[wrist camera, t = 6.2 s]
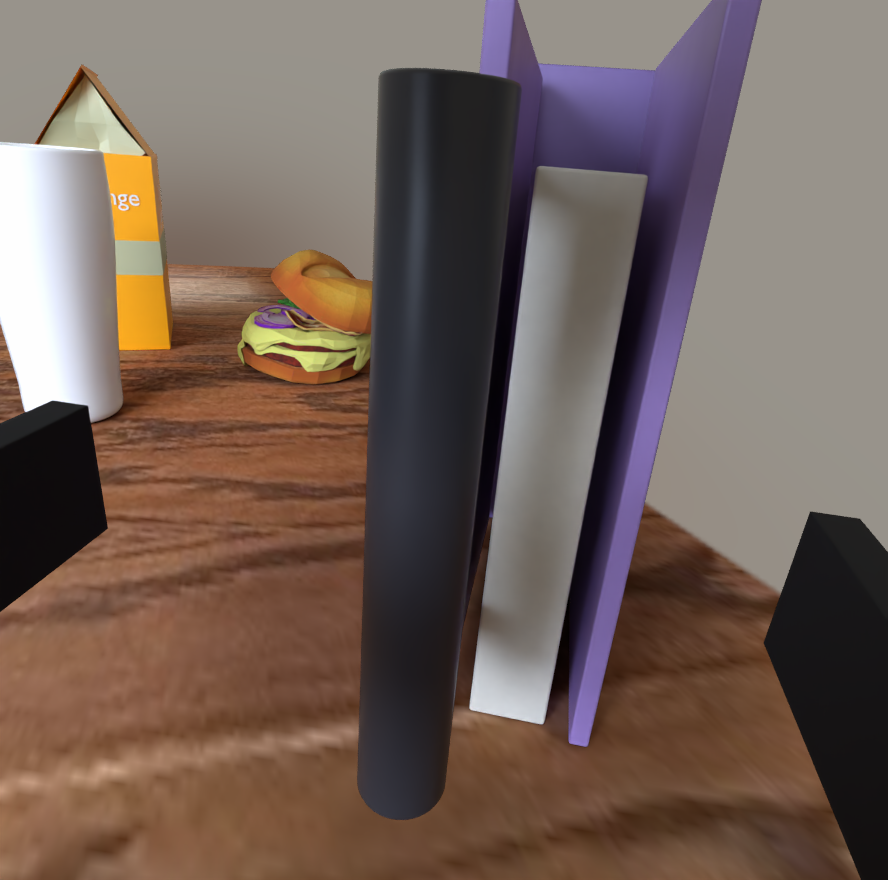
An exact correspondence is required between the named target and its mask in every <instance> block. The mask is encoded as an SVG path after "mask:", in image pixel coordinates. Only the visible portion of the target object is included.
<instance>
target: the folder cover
mask: <svg viewBox="0 0 888 880" xmlns="http://www.w3.org/2000/svg"><path fill="white" fill-rule="evenodd" d="M542 80H543V78H542V74H541V71H540V68H539V65H538V62H537V59H536V56H535V53H534V50H533V46H532V43H531V40H530V37H529V34H528V31H527V28H526V25H525V22H524V19H523V15H522V12H521V9H520V6H519V3H518V0H486V5H485V17H484V28H483V40H482V51H481V63H480V73H474V72H466V71H457V70H445V69H429V68H398V69H389V70H386V71H383V72H381V73H380V76H379V84H378V117H377V118H378V120H377V150H376V182H375V215H374V217H375V218H374V250H373V251H374V252H373V281H372V314H371V347H370V380H369V412H368V445H367V478H366V511H365V544H364V577H363V609H362V642H361V675H360V708H359V741H358V774H357V784H358V789H359V792H360V795H361V797H362V799H363V800H364V801H365V803H366V804H367V805H368V806H369V807H370V808H371V809H372V810H373V811H374V812H376V813H378V814H379V815H381V816H384V817H386V818H390V819H395V820H408V819H413V818H416V817H419V816H421V815H423V814H425V813H427V812H428V811H430V810H431V809H432V808H433V807H434V806H435V805H436V804H437V802H438V801H439V800H440V798H441V796H442V794H443V792H444V788H445V782H446V772H447V763H448V754H449V745H450V736H451V727H452V718H453V709H454V700H455V691H456V682H457V673H458V664H459V655H460V646H461V637H462V628H463V624H464V620H465V616H466V612H467V607H468V603H469V599H470V595H471V591H472V587H473V583H474V578H475V574H476V570H477V566H478V562H479V558H480V553H481V549H482V545H483V541H484V537H485V533H486V528H487V524H488V520H489V516H490V508H491V500H492V492H493V484H494V475H495V467H496V459H497V451H498V442H499V434H500V426H501V418H502V410H503V401H504V393H505V385H506V377H507V368H508V360H509V352H510V344H511V335H512V327H513V319H514V311H515V303H516V294H517V286H518V278H519V270H520V261H521V253H522V245H523V237H524V228H525V220H526V212H527V204H528V196H529V187H530V179H531V171H532V163H533V154H534V146H535V138H536V130H537V121H538V113H539V105H540V97H541V89H542Z"/></svg>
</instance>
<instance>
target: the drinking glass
mask: <svg viewBox="0 0 888 880" xmlns="http://www.w3.org/2000/svg"><path fill="white" fill-rule="evenodd" d="M0 324H1V327H2V331H3V334H4V337H5V340H6V344H7V347H8V350H9V354H10V357H11V360H12V363H13V367H14V370H15V374H16V377H17V380H18V384H19V389H20V394H21V399H22V404H23V408H24V410H25V412H27V411H30V410H32V409H34V408H36V407H39V406H41V405H43V404H45V403H48V402H50V401H52V400H53V401H60V402H67V403H74V404H80V405H87V406H88V408H89V414H90V421H91V423H93V422H97V421H100V420H103V419H106V418H108V417H110V416H112V415H114V414H115V413H117V412H118V411H119V410H120V408H121V407H122V405H123V390H122V382H121V374H120V356H119V333H118V307H117V278H116V250H115V232H114V220H113V210H112V202H111V195H110V188H109V182H108V176H107V171H106V165H105V160H104V154H103V152H102V151H100V150H95V149H85V148H75V147H63V146H50V145H37V144H23V143H7V142H0Z"/></svg>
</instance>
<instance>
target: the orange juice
mask: <svg viewBox="0 0 888 880" xmlns="http://www.w3.org/2000/svg"><path fill="white" fill-rule="evenodd" d="M97 76H98V75H97V74H95V73H94V72H93V71H91V70H90V69H88V68H87V67H85V66H84V65H81V67H80V68H79V70H78V72H77V73H76V75H75V77H74V78H73V80H72V82H71V84H70V85H69V87H68V89H67V91H66V92H65V94H64V95H63V97H62V99H61V100H60V102H59V104H58V106H57V107H56V109H55V110H54V112H53V114H52V116H51V117H50V119H49V121H48V122H47V124H46V126H45V127H44V129H43V131H42V132H41V134H40V136H39V138H38V140H37V141H36V142H35V144H37V145H50V146H63V147H75V148H85V149H95V150H100V151H102V152H103V154H104V160H105V165H106V171H107V176H108V182H109V188H110V195H111V202H112V210H113V220H114V232H115V250H116V278H117V307H118V333H119V350H154V349H170V347H171V338H172V328H173V317H172V307H171V297H170V287H169V277H168V266H167V252H166V241H165V231H164V226H163V216H162V205H161V201H162V200H161V194H160V193H161V192H160V191H161V190H160V186H159V175H158V165H157V155H156V154H154V152H153V151H152V150H151V148H150V147H149V146H148V144H147V143H146V142H145V140H144V139H143V138H142V136H141V135H140V134H139V132H137V130H136V129H135V127H134V126H133V124H132V123H131V122H130V121H129V119H128V118H127V116H126V115H125V114H124V112H123V111H122V110H121V108H120V107H119V106H118V105H117V103H116V102H115V101H114V99H113V98H112V97H111V95H110V94H109V93H108V91H107V90H106V89H105V87H104V86H103V85H102V83H101V82H100V81H99V79H98V78H97Z"/></svg>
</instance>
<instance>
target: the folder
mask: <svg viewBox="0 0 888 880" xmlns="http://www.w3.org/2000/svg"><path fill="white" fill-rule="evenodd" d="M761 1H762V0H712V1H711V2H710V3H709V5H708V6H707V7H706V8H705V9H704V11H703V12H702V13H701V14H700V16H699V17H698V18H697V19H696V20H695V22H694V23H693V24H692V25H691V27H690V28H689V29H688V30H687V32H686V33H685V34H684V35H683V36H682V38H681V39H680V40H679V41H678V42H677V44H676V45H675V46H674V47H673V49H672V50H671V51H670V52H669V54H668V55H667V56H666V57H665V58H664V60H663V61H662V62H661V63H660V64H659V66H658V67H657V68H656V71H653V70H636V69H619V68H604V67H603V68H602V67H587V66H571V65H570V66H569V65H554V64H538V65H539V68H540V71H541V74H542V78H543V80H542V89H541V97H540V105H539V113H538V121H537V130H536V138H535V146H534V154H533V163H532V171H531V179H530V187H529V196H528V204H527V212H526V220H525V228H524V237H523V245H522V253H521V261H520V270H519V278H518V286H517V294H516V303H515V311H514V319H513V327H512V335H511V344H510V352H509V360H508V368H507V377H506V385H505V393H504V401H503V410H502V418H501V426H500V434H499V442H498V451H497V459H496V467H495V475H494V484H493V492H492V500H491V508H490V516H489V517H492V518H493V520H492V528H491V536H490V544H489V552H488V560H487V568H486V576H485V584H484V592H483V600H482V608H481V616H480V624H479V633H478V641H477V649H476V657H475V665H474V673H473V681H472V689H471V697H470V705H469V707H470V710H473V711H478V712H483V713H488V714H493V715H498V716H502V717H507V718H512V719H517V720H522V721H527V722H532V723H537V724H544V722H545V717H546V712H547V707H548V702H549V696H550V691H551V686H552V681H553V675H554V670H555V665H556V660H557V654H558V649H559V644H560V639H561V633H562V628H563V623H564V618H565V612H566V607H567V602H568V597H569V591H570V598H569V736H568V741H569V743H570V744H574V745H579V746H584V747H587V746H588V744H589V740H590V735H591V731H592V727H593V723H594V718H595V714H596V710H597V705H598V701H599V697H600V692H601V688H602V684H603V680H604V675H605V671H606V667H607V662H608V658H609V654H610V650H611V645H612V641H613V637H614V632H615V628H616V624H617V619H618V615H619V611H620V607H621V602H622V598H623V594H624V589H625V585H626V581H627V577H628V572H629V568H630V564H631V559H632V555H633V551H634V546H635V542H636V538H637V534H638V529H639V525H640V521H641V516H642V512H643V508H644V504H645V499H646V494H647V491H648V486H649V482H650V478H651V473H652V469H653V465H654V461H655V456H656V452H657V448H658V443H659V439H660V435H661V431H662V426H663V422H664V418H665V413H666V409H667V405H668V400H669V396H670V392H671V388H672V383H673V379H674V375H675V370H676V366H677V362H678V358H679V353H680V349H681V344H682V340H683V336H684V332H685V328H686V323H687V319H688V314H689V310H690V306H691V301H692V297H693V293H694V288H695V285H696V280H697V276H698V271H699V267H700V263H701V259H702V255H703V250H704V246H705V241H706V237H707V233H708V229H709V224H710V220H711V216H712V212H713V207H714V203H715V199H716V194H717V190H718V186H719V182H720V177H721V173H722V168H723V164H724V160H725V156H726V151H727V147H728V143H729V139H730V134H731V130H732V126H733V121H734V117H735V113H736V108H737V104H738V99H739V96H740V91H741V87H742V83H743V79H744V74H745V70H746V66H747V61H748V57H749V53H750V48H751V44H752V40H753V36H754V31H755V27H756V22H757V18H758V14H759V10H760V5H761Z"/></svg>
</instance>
